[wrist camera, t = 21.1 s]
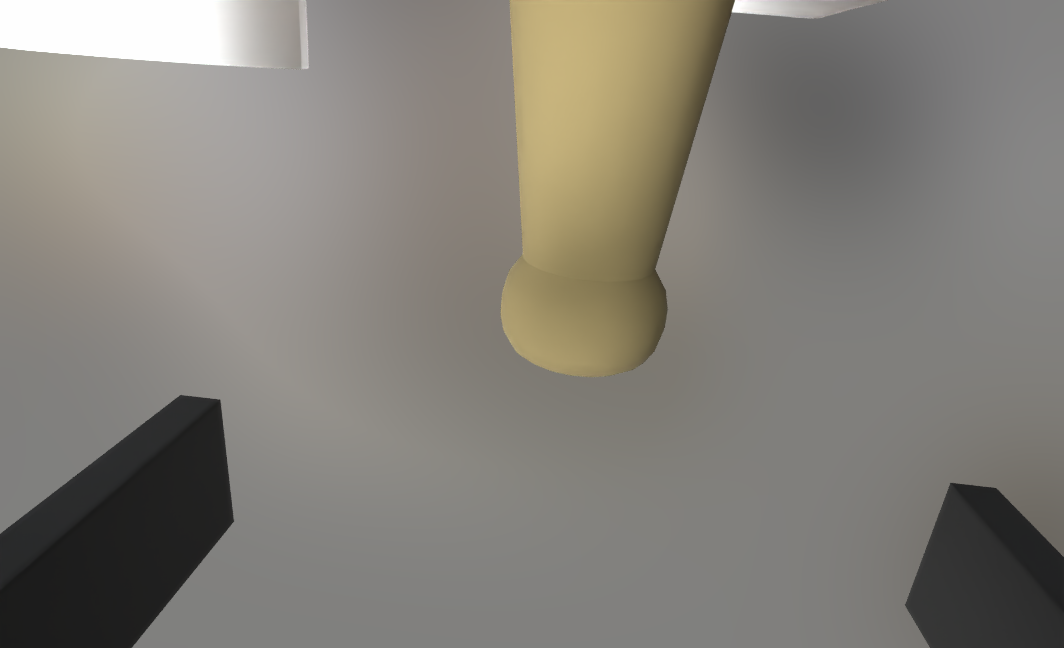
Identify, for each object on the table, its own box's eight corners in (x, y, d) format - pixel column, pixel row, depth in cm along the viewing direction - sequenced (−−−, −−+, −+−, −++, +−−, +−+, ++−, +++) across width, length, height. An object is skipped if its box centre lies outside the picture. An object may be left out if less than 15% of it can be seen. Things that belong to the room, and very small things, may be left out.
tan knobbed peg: (756, -31, 14) (674, 417, 18) (726, 0, 19) (668, 337, 23) (482, -49, 15) (462, 385, 19) (528, -13, 20) (505, 315, 24)
